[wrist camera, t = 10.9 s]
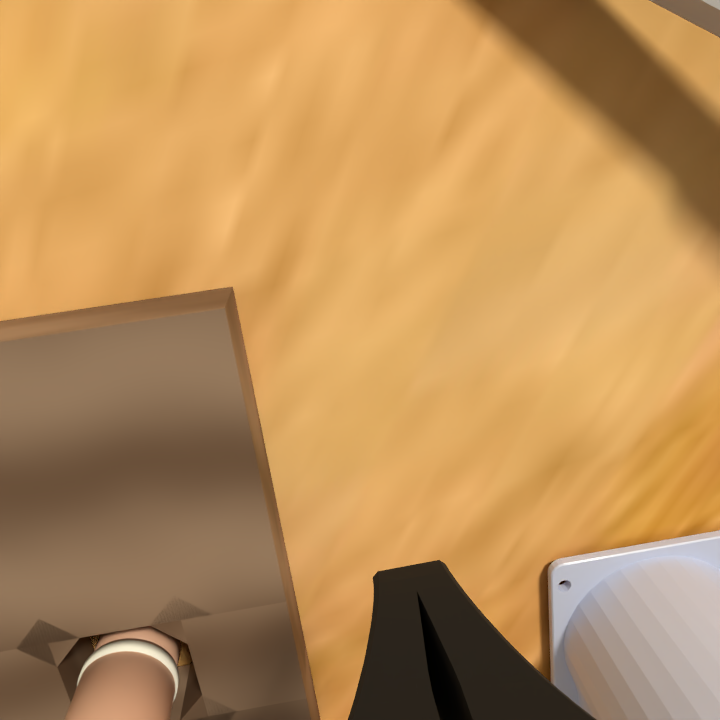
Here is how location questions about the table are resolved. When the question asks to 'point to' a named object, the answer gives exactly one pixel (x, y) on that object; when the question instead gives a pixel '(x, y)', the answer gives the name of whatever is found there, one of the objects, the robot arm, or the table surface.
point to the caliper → (696, 12)
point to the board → (142, 509)
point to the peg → (128, 677)
